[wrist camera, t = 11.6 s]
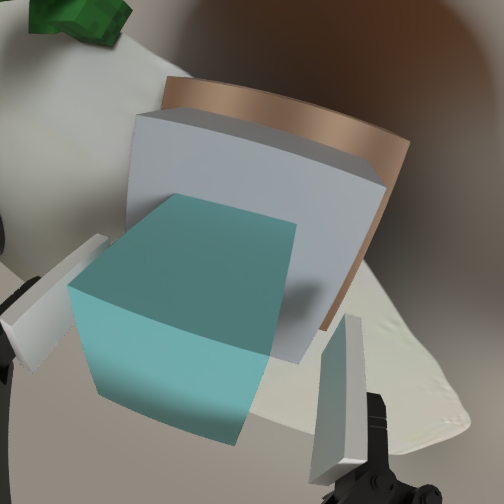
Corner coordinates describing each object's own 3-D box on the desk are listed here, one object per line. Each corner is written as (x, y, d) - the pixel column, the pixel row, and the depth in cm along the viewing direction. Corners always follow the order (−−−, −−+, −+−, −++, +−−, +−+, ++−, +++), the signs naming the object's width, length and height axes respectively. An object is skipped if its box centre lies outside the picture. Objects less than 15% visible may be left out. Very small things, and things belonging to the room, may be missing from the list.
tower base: (173, 241, 31) (145, 272, 25) (199, 78, 22) (167, 76, 17) (327, 289, 30) (326, 331, 24) (389, 131, 21) (410, 141, 16)
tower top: (162, 257, 24) (124, 301, 19) (185, 106, 18) (136, 114, 13) (305, 306, 24) (298, 364, 18) (367, 160, 17) (386, 187, 12)
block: (169, 289, 18) (98, 394, 11) (175, 193, 15) (66, 285, 8) (268, 319, 17) (234, 446, 10) (296, 223, 14) (269, 356, 7)
